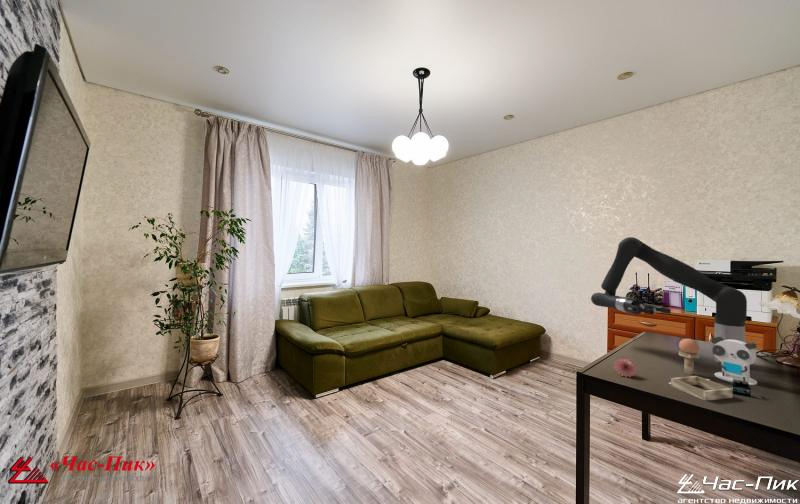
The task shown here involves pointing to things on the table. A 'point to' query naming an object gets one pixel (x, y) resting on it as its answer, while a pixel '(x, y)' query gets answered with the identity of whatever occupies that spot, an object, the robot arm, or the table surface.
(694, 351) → the ball
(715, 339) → the panda figurine
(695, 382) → the corral
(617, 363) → the flower
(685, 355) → the tee
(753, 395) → the black slotted stand
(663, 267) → the robot arm
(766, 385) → the table surface
